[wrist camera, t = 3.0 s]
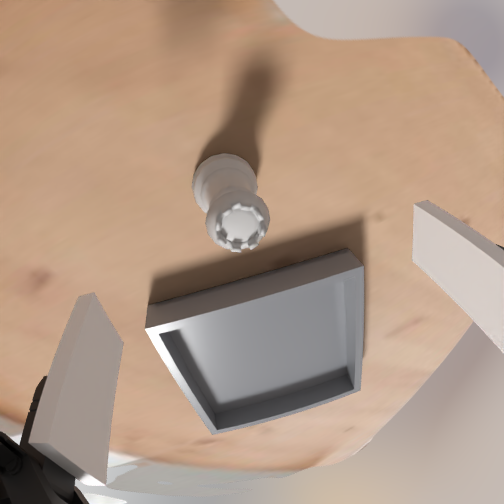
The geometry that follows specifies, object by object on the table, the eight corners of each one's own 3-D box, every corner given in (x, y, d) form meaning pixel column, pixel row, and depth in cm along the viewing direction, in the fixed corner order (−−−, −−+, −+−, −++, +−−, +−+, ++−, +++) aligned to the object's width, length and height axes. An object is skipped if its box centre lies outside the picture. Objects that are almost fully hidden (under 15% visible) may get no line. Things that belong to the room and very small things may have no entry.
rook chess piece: (264, 165, 22) (301, 202, 15) (240, 220, 24) (263, 278, 17) (205, 142, 21) (214, 170, 14) (182, 201, 22) (181, 255, 15)
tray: (147, 305, 26) (144, 329, 23) (347, 248, 27) (363, 265, 24) (209, 414, 35) (212, 434, 32) (350, 372, 36) (360, 390, 33)
